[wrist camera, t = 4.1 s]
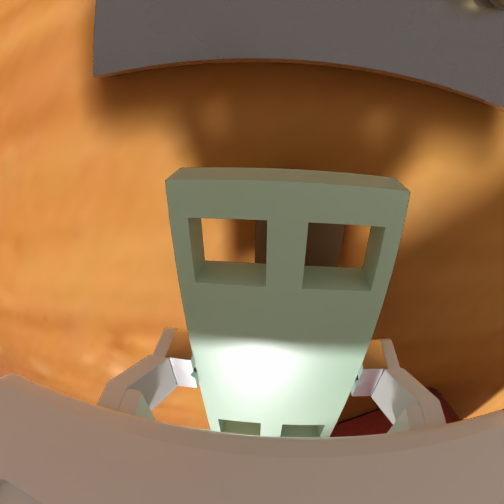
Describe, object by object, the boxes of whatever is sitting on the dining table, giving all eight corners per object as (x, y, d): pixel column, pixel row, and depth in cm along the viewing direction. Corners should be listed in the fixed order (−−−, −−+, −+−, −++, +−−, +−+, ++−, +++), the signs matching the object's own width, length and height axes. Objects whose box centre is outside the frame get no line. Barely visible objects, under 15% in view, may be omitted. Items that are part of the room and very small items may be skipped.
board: (323, 430, 15) (323, 447, 14) (217, 423, 15) (214, 441, 14) (395, 177, 8) (410, 191, 7) (180, 167, 8) (165, 180, 7)
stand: (258, 355, 19) (251, 405, 16) (265, 172, 13) (256, 203, 10) (303, 359, 19) (303, 409, 16) (332, 177, 13) (347, 210, 10)
